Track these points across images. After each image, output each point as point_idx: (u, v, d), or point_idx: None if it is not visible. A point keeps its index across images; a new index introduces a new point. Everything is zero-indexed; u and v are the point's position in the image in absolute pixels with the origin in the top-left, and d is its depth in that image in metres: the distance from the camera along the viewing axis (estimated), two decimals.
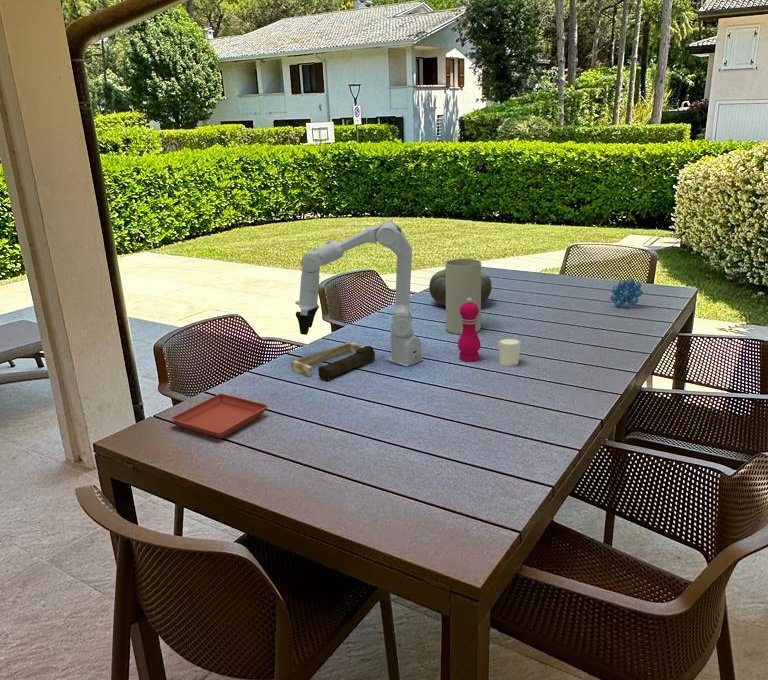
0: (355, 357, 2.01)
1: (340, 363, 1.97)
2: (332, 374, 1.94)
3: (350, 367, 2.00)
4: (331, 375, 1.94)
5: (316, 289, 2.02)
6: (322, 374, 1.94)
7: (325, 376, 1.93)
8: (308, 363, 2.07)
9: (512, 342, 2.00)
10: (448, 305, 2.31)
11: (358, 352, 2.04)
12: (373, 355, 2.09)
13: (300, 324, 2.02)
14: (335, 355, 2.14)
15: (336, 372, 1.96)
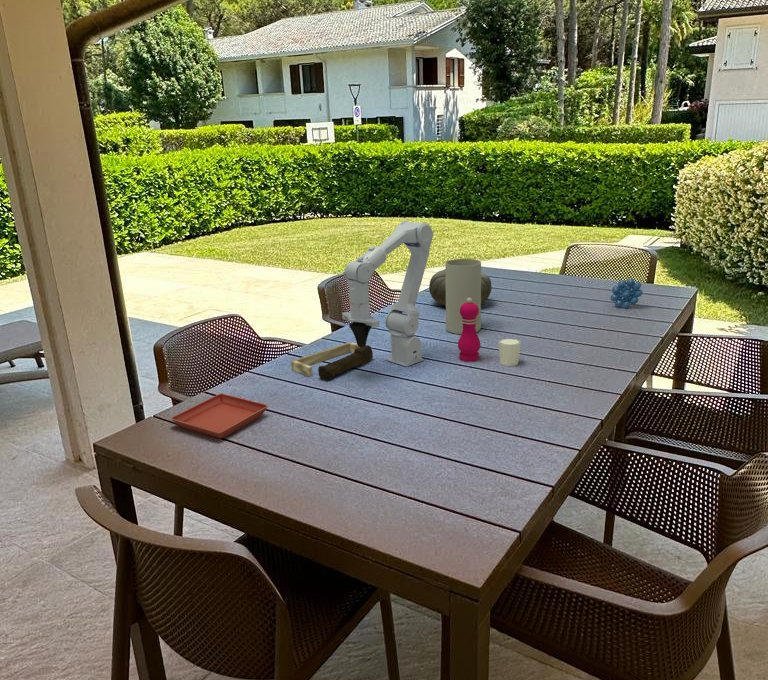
0: (354, 356, 2.02)
1: (340, 363, 1.97)
2: (332, 374, 1.94)
3: (349, 366, 2.00)
4: (331, 375, 1.94)
5: None
6: (323, 374, 1.94)
7: (325, 376, 1.93)
8: (308, 363, 2.07)
9: (512, 342, 2.00)
10: (448, 305, 2.31)
11: (357, 351, 2.04)
12: (371, 354, 2.09)
13: (360, 337, 1.92)
14: (335, 355, 2.14)
15: (336, 372, 1.96)
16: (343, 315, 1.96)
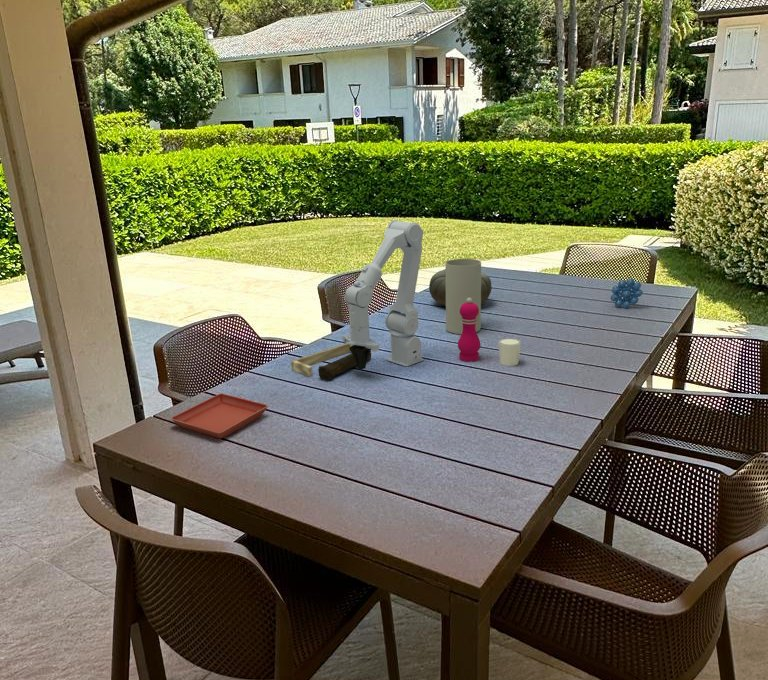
0: (353, 356, 2.02)
1: (340, 363, 1.97)
2: (333, 374, 1.94)
3: (349, 366, 2.01)
4: (332, 375, 1.94)
5: None
6: (323, 374, 1.94)
7: (326, 376, 1.93)
8: (308, 363, 2.07)
9: (512, 342, 2.00)
10: (448, 305, 2.31)
11: None
12: (370, 354, 2.10)
13: (360, 359, 1.95)
14: (335, 355, 2.14)
15: (336, 372, 1.96)
16: (343, 338, 1.99)
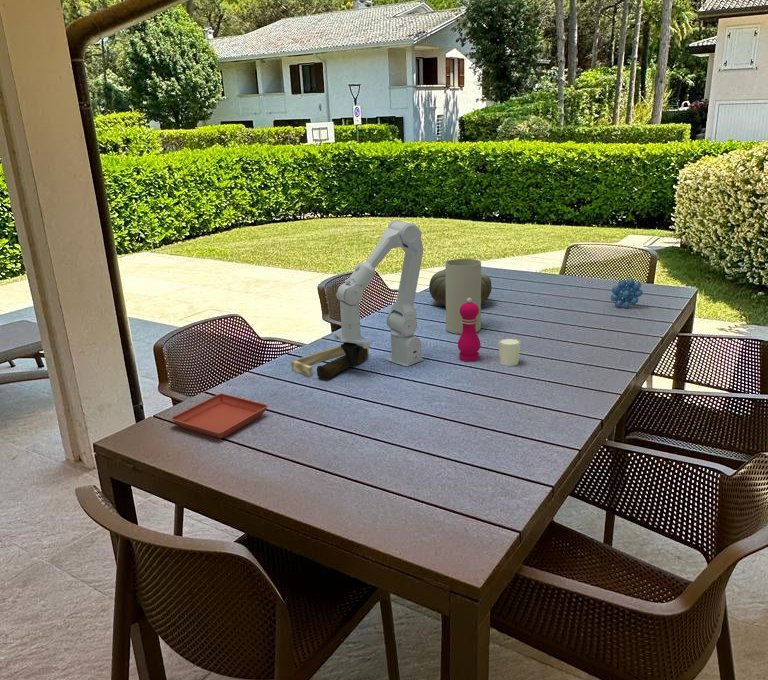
0: None
1: (338, 362, 1.98)
2: (331, 373, 1.95)
3: (347, 366, 2.01)
4: (330, 374, 1.95)
5: (359, 320, 1.96)
6: (322, 373, 1.94)
7: (324, 375, 1.94)
8: (308, 363, 2.07)
9: (512, 342, 2.00)
10: (448, 305, 2.31)
11: None
12: (366, 353, 2.10)
13: (351, 356, 1.98)
14: (335, 355, 2.14)
15: (335, 371, 1.96)
16: (335, 335, 2.02)
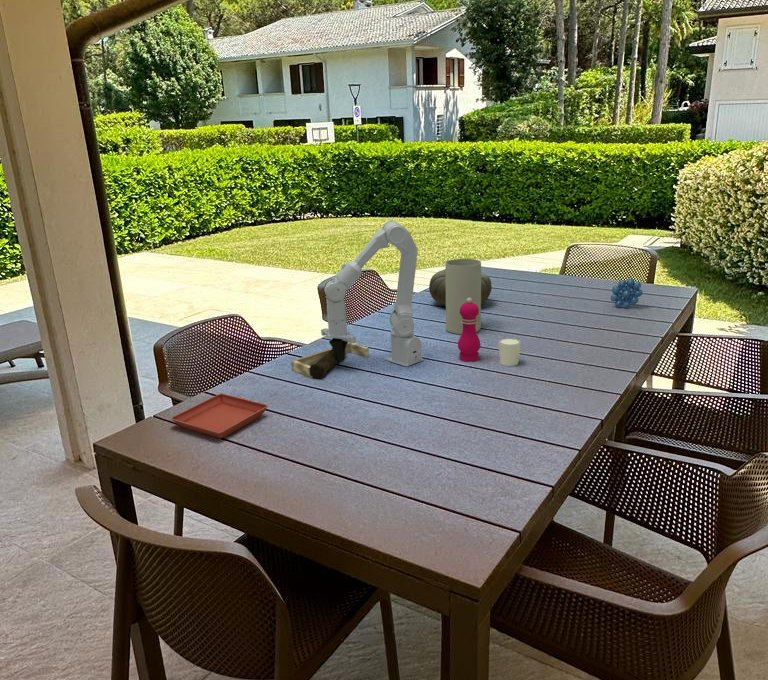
0: None
1: (328, 359, 2.00)
2: (325, 371, 1.97)
3: (334, 362, 2.04)
4: (324, 372, 1.96)
5: (345, 317, 1.99)
6: (316, 372, 1.95)
7: (319, 373, 1.95)
8: (308, 363, 2.07)
9: (512, 342, 2.00)
10: (448, 305, 2.31)
11: None
12: None
13: (337, 352, 2.03)
14: None
15: (327, 368, 1.98)
16: (322, 331, 2.06)
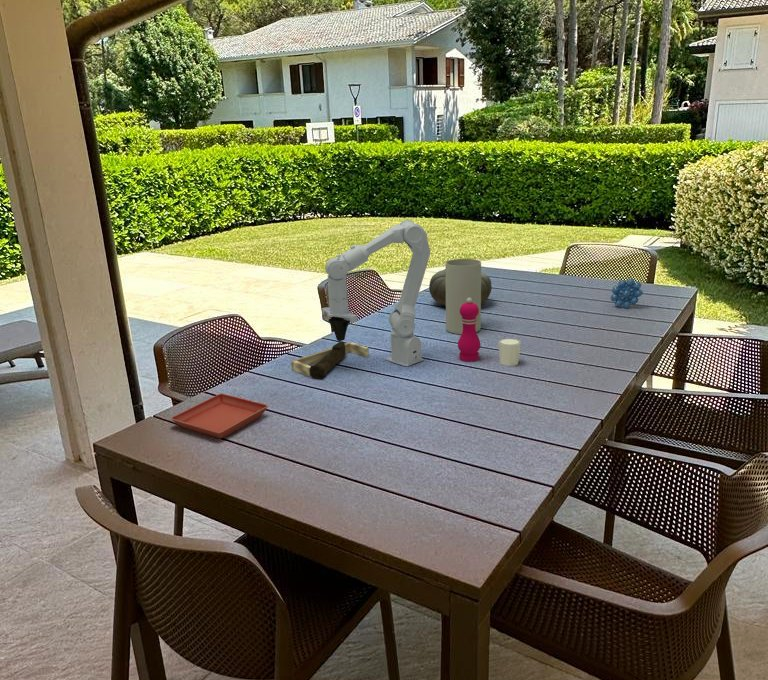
0: (336, 353, 2.06)
1: (328, 360, 2.00)
2: (325, 371, 1.97)
3: (334, 363, 2.04)
4: (324, 373, 1.96)
5: (346, 295, 1.97)
6: (316, 372, 1.95)
7: (319, 374, 1.95)
8: (308, 363, 2.07)
9: (512, 342, 2.00)
10: (448, 305, 2.31)
11: (336, 348, 2.08)
12: None
13: (339, 331, 1.99)
14: None
15: (327, 369, 1.98)
16: (323, 310, 2.03)
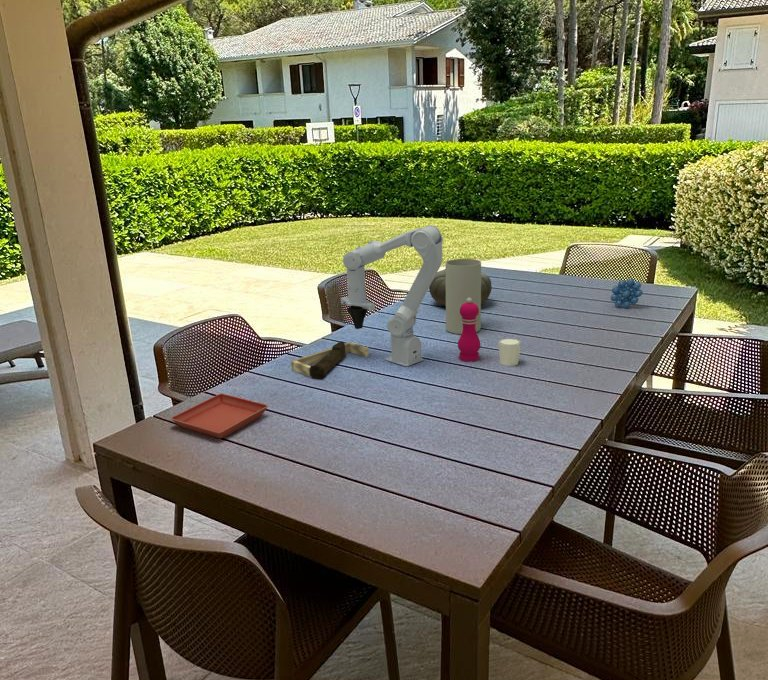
0: (336, 353, 2.06)
1: (328, 360, 2.00)
2: (325, 371, 1.97)
3: (334, 363, 2.04)
4: (324, 373, 1.96)
5: (361, 286, 2.05)
6: (316, 372, 1.95)
7: (319, 374, 1.95)
8: (308, 363, 2.07)
9: (512, 342, 2.00)
10: (448, 305, 2.31)
11: (336, 348, 2.08)
12: None
13: (357, 319, 2.09)
14: None
15: (327, 369, 1.98)
16: (341, 300, 2.13)
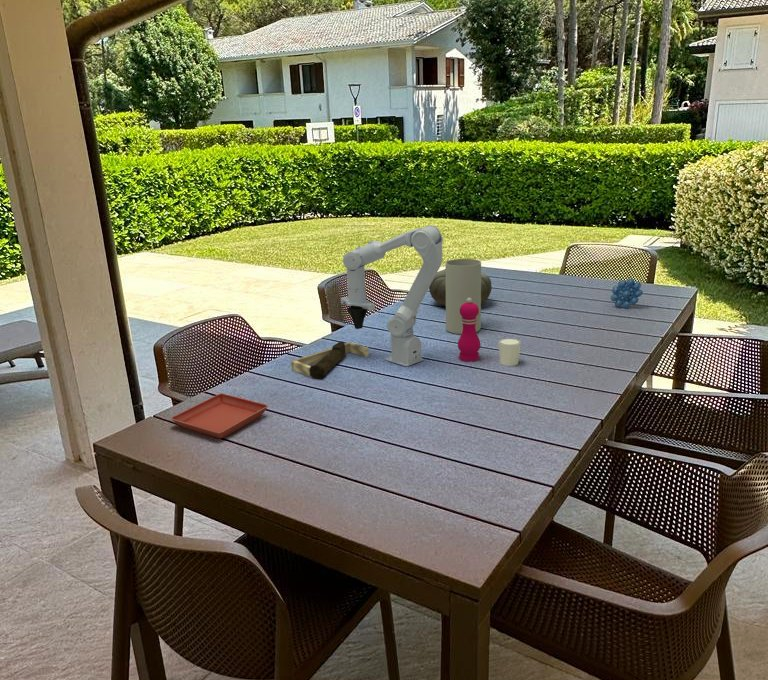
0: (336, 353, 2.06)
1: (328, 360, 2.00)
2: (325, 371, 1.97)
3: (334, 363, 2.04)
4: (324, 372, 1.96)
5: (361, 286, 2.05)
6: (317, 372, 1.95)
7: (319, 374, 1.95)
8: (308, 363, 2.07)
9: (512, 342, 2.00)
10: (448, 305, 2.31)
11: (336, 348, 2.08)
12: None
13: (357, 319, 2.09)
14: None
15: (327, 369, 1.98)
16: (341, 300, 2.13)
